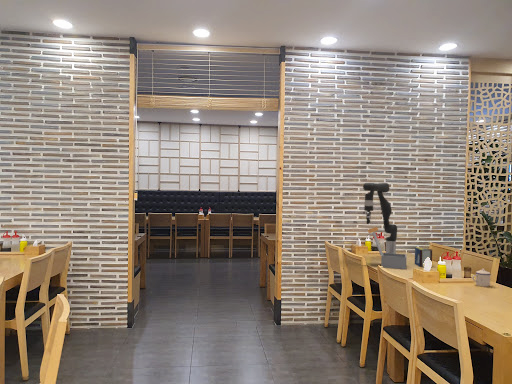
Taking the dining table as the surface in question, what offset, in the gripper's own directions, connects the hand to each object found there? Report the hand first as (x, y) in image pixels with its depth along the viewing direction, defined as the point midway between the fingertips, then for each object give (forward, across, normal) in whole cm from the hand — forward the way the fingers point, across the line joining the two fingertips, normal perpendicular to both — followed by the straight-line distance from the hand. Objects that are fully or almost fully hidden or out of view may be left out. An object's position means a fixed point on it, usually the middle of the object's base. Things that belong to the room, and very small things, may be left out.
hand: (368, 223), depth 353 cm
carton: (+36, 0, +22) cm, 42 cm away
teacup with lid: (+36, +46, +81) cm, 100 cm away
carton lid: (+13, 0, +12) cm, 18 cm away
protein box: (+36, -17, +46) cm, 61 cm away
